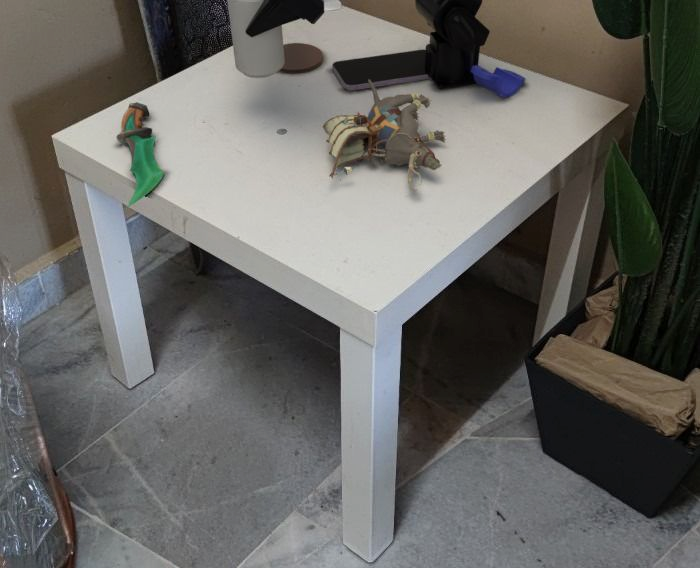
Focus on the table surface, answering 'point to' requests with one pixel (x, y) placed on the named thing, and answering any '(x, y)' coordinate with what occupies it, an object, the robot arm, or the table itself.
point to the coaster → (301, 58)
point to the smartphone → (381, 69)
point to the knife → (140, 150)
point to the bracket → (498, 80)
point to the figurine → (384, 135)
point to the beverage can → (254, 42)
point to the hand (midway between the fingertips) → (244, 22)
